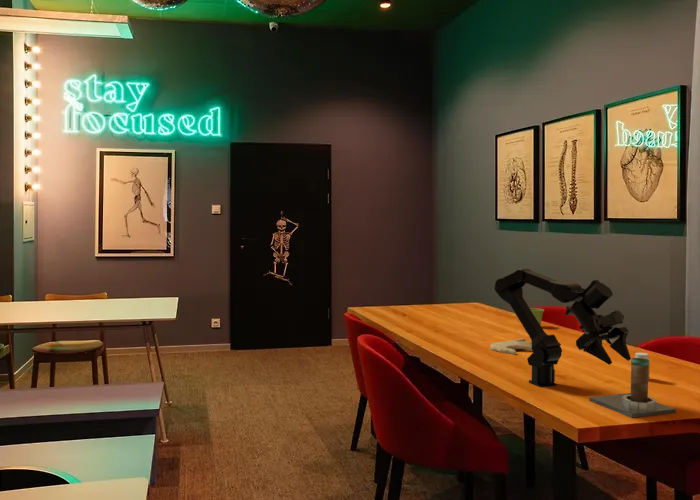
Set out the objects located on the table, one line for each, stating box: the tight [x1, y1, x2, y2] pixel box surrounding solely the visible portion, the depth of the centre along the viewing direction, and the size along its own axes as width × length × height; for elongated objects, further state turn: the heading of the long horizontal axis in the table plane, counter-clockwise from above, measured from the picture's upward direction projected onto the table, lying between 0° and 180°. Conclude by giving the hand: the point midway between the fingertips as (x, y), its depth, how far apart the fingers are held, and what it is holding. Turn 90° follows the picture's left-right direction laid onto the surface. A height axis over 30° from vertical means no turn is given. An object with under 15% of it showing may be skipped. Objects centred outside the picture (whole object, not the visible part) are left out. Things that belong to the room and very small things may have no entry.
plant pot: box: [529, 307, 545, 327], centre depth 318 cm, size 9×9×9 cm
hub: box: [588, 392, 677, 419], centre depth 182 cm, size 15×17×3 cm
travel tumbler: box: [630, 357, 650, 402], centre depth 179 cm, size 5×5×13 cm
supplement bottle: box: [634, 352, 651, 381], centre depth 215 cm, size 5×5×8 cm
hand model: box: [489, 337, 533, 356], centre depth 260 cm, size 19×5×20 cm
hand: (620, 361), depth 184 cm, fingers open, 9 cm apart
